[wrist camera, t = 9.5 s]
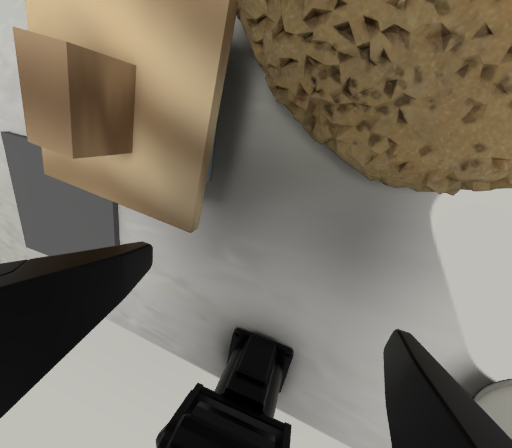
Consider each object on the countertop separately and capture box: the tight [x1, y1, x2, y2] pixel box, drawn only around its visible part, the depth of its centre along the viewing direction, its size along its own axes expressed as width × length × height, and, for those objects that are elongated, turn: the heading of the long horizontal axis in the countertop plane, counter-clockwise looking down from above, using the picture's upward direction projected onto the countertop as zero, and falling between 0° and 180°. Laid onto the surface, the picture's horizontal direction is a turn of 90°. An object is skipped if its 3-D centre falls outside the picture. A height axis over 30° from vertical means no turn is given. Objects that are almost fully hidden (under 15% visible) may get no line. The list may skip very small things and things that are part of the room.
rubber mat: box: [1, 132, 119, 256], centre depth 27 cm, size 14×14×1 cm
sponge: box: [236, 0, 512, 195], centre depth 12 cm, size 13×8×20 cm
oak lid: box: [13, 0, 238, 233], centre depth 14 cm, size 13×13×5 cm
